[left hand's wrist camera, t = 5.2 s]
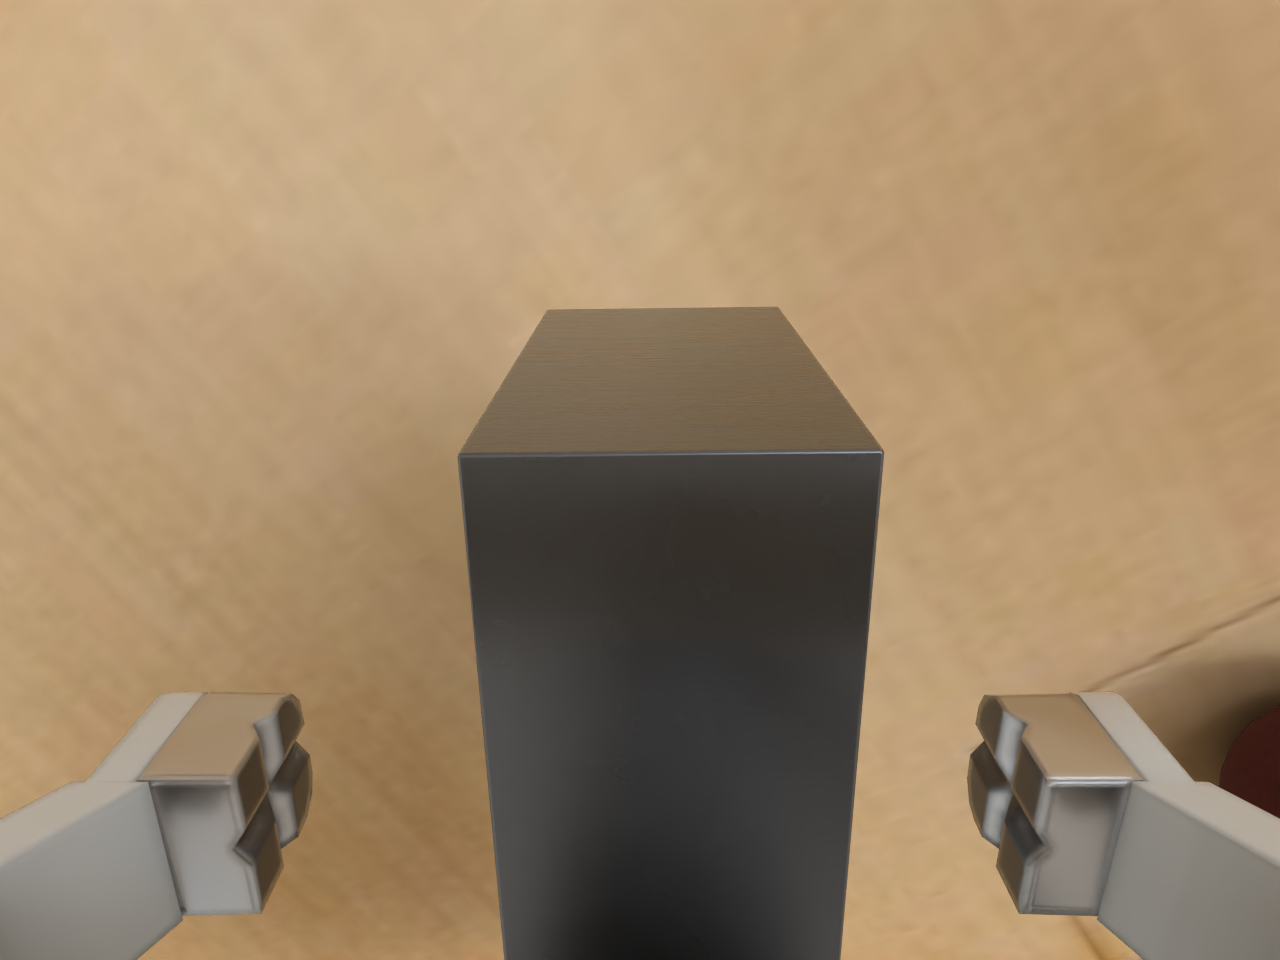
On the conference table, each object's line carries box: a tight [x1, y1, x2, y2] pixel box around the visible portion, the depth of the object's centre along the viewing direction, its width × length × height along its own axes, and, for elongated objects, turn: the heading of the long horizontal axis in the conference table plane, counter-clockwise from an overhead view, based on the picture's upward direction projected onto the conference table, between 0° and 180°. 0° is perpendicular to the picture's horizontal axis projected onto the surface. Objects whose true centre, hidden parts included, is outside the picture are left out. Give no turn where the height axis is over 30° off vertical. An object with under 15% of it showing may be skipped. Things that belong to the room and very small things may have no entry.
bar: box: [458, 307, 884, 960], centre depth 18 cm, size 23×5×9 cm, turn 1°
